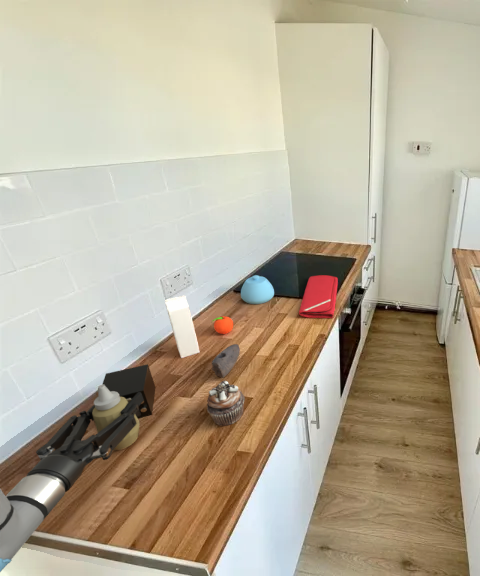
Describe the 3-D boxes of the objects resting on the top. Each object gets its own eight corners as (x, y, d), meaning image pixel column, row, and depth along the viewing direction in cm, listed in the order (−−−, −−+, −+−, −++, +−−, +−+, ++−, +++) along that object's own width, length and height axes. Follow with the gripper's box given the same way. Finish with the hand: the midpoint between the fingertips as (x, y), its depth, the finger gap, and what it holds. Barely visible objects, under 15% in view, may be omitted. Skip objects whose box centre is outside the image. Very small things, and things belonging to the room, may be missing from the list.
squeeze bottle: (139, 422, 87) (119, 369, 80) (147, 441, 82) (126, 387, 75) (101, 439, 82) (76, 385, 74) (106, 461, 77) (79, 404, 69)
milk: (178, 350, 118) (162, 296, 108) (196, 344, 121) (183, 291, 112) (181, 358, 113) (165, 303, 104) (200, 352, 117) (187, 298, 107)
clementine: (211, 338, 125) (208, 323, 122) (213, 329, 130) (210, 314, 127) (234, 335, 127) (231, 320, 124) (235, 326, 133) (232, 311, 130)
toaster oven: (106, 431, 86) (94, 405, 82) (115, 397, 96) (105, 373, 92) (151, 418, 90) (142, 393, 86) (155, 387, 101) (148, 364, 97)
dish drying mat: (338, 280, 179) (338, 274, 178) (334, 318, 143) (334, 311, 141) (309, 279, 178) (309, 273, 176) (297, 318, 141) (297, 311, 139)
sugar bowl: (234, 302, 151) (230, 280, 146) (253, 289, 164) (250, 268, 159) (264, 307, 148) (261, 284, 143) (280, 293, 161) (278, 272, 156)
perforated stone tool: (232, 352, 118) (230, 337, 115) (246, 354, 117) (244, 338, 114) (209, 381, 104) (205, 364, 101) (224, 382, 104) (221, 365, 101)
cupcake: (201, 423, 89) (194, 396, 85) (226, 398, 98) (220, 372, 94) (231, 432, 87) (225, 404, 83) (253, 406, 96) (249, 380, 91)
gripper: (0, 498, 63) (90, 407, 83) (105, 496, 64) (169, 407, 85) (-19, 472, 59) (80, 384, 80) (93, 471, 61) (162, 384, 82)
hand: (126, 396), depth 82 cm, fingers closed on squeeze bottle, 6 cm apart
